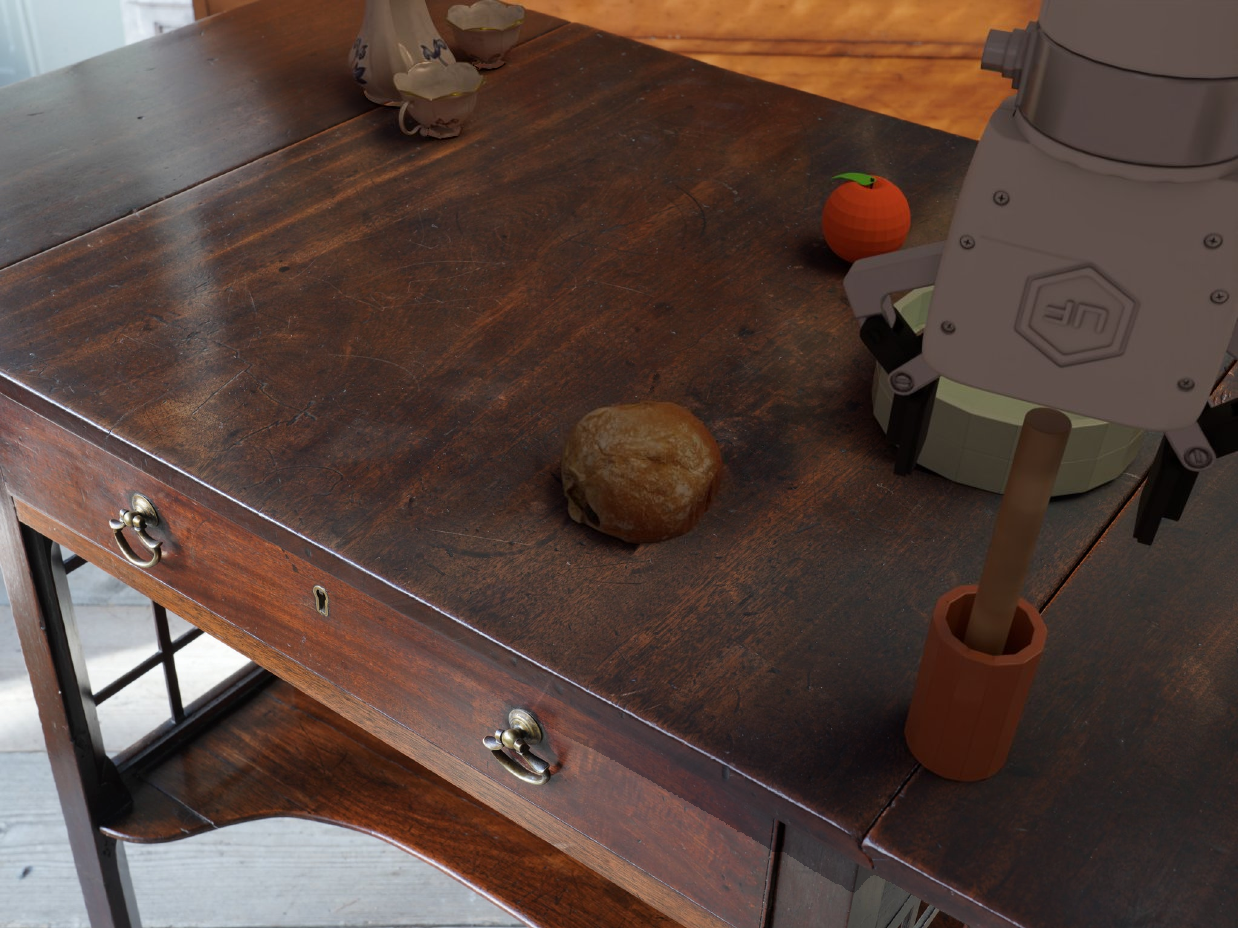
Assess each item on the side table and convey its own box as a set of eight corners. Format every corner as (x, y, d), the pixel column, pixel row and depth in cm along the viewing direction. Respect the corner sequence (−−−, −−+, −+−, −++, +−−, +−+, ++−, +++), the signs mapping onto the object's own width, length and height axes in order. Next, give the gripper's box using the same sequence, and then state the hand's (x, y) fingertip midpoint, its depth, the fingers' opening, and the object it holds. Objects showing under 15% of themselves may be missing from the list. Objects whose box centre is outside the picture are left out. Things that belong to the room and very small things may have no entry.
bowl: (1149, 382, 86) (1175, 309, 82) (1119, 535, 73) (1148, 457, 70) (905, 325, 91) (919, 254, 87) (840, 458, 79) (851, 383, 75)
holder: (1013, 726, 62) (1054, 603, 56) (994, 802, 59) (1036, 679, 53) (916, 694, 64) (947, 571, 58) (892, 767, 60) (922, 643, 54)
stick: (990, 736, 61) (1091, 417, 48) (982, 762, 60) (1084, 442, 47) (930, 716, 62) (1014, 398, 49) (922, 742, 61) (1005, 423, 48)
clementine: (789, 255, 99) (797, 175, 94) (837, 225, 103) (848, 146, 98) (873, 290, 95) (886, 208, 90) (919, 257, 99) (934, 176, 94)
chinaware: (488, 172, 114) (497, -8, 103) (311, 147, 113) (301, -36, 103) (528, 59, 135) (538, -100, 125) (379, 38, 135) (376, -122, 124)
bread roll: (551, 523, 79) (507, 461, 73) (646, 406, 82) (612, 336, 75) (667, 597, 74) (631, 538, 67) (765, 469, 76) (739, 401, 70)
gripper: (852, 85, 40) (796, 484, 51) (1449, 193, 34) (1242, 614, 45) (908, 12, 45) (846, 388, 56) (1433, 96, 40) (1251, 494, 50)
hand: (1023, 489), depth 50 cm, fingers open, 9 cm apart
